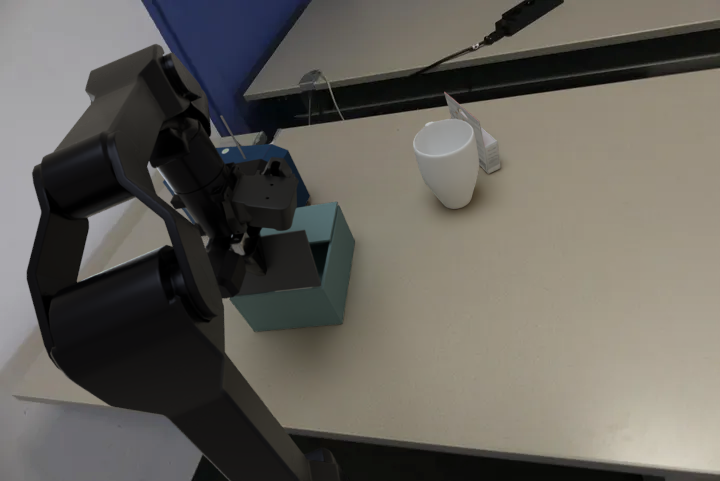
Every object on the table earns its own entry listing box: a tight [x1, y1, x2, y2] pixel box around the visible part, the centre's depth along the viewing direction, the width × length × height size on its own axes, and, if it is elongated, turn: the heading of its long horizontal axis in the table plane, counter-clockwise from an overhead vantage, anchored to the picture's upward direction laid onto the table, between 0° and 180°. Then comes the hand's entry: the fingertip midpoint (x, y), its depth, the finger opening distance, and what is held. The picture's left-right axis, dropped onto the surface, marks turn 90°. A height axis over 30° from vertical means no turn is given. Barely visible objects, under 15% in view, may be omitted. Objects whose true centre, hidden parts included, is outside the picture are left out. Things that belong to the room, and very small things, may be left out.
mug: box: [412, 118, 480, 210], centre depth 75 cm, size 12×8×11 cm
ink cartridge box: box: [443, 91, 501, 175], centre depth 80 cm, size 2×11×10 cm, turn 20°
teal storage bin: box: [229, 201, 356, 333], centre depth 72 cm, size 15×13×8 cm
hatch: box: [237, 230, 321, 295], centre depth 63 cm, size 7×13×1 cm
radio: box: [162, 115, 311, 224], centre depth 83 cm, size 21×9×20 cm, turn 72°
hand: (262, 273), depth 63 cm, fingers closed
